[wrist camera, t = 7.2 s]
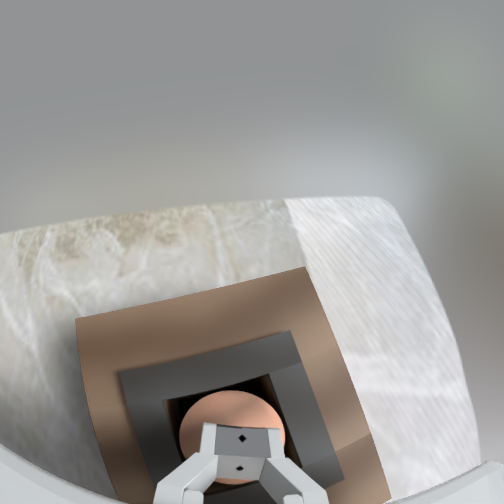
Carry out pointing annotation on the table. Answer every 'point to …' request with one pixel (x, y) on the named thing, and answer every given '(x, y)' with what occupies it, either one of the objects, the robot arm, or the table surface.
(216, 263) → the table surface
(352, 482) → the block
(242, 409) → the peg
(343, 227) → the table surface
